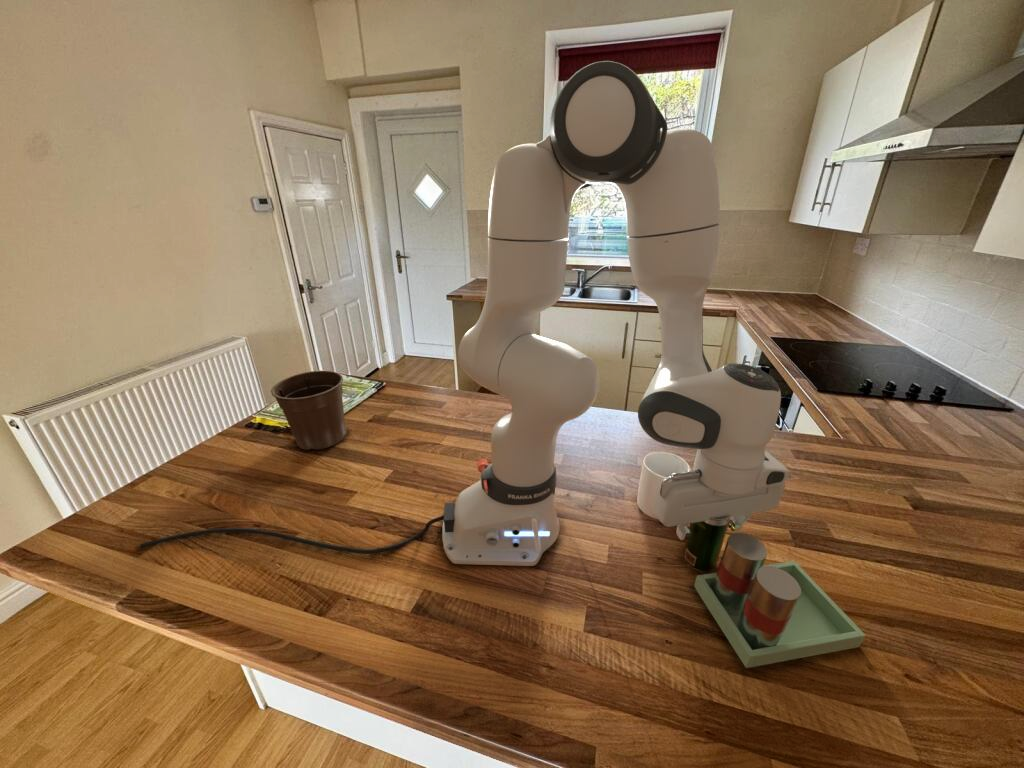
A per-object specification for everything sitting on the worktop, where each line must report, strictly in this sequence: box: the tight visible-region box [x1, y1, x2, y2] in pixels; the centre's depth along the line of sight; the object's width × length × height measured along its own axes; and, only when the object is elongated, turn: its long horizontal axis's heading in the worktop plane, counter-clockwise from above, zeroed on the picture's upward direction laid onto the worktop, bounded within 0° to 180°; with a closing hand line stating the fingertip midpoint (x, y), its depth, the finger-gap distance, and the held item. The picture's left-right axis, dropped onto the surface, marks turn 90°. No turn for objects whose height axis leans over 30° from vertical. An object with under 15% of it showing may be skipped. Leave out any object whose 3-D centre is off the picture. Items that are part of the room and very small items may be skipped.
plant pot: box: [270, 370, 348, 451], centre depth 102 cm, size 16×16×16 cm
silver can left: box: [712, 532, 768, 616], centre depth 60 cm, size 5×5×12 cm
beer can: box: [682, 515, 730, 573], centre depth 67 cm, size 5×5×12 cm
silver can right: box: [736, 565, 801, 650], centre depth 55 cm, size 5×5×12 cm
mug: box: [636, 451, 691, 520], centre depth 78 cm, size 9×12×11 cm
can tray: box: [693, 560, 867, 669], centre depth 60 cm, size 18×13×3 cm
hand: (708, 532), depth 67 cm, fingers open, 8 cm apart
